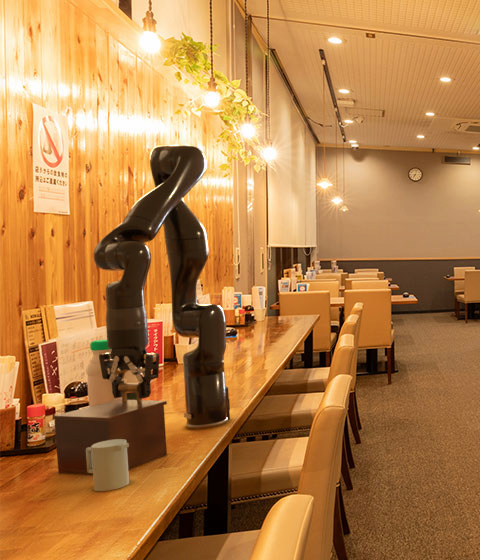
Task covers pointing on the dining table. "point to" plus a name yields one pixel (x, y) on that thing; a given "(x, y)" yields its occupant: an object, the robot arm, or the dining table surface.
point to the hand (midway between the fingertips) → (131, 397)
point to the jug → (108, 464)
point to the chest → (111, 438)
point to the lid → (113, 407)
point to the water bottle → (98, 376)
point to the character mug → (130, 379)
